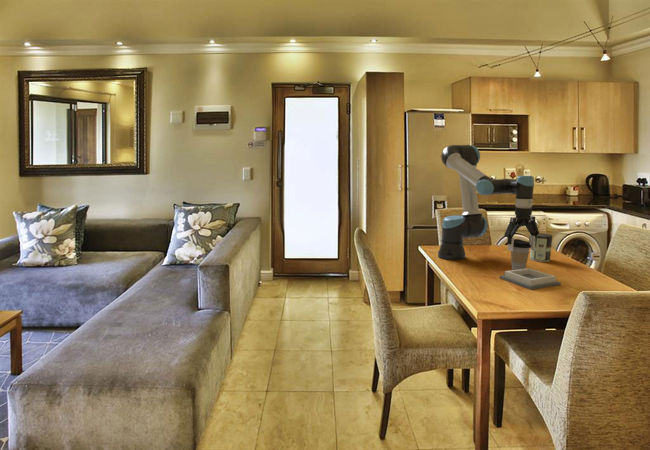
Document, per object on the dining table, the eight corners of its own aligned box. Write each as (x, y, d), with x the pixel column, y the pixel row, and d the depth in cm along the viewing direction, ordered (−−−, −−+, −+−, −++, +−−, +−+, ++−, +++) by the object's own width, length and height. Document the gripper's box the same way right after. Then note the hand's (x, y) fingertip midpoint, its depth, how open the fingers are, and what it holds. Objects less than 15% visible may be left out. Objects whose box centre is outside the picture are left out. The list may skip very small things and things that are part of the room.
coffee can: (544, 257, 233) (546, 233, 231) (553, 261, 223) (556, 236, 221) (526, 257, 233) (528, 233, 231) (534, 261, 223) (537, 236, 221)
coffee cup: (511, 267, 213) (513, 239, 210) (530, 270, 207) (533, 241, 204) (505, 271, 205) (508, 242, 203) (526, 274, 199) (528, 244, 197)
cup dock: (499, 278, 194) (500, 270, 194) (528, 274, 200) (528, 266, 200) (530, 289, 178) (531, 281, 177) (560, 284, 184) (561, 277, 183)
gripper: (509, 209, 193) (507, 253, 196) (549, 206, 201) (545, 248, 205) (498, 207, 200) (495, 250, 203) (536, 205, 208) (533, 245, 212)
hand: (520, 249), depth 204 cm, fingers open, 13 cm apart
